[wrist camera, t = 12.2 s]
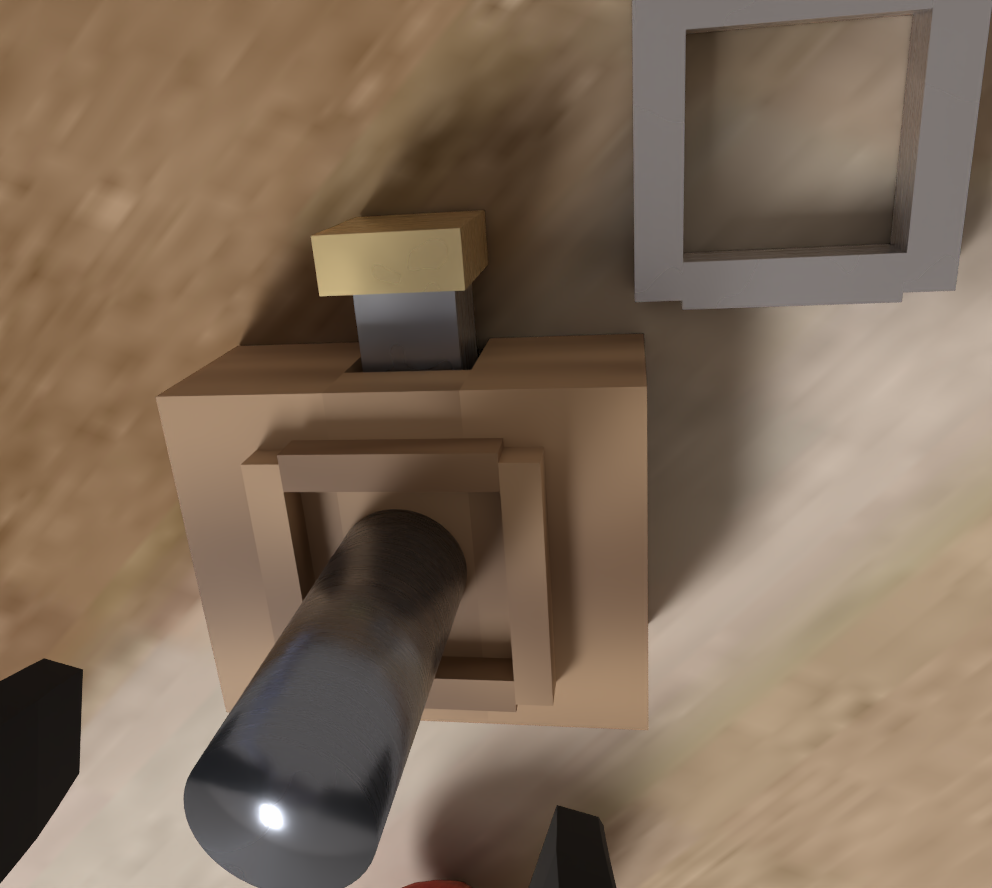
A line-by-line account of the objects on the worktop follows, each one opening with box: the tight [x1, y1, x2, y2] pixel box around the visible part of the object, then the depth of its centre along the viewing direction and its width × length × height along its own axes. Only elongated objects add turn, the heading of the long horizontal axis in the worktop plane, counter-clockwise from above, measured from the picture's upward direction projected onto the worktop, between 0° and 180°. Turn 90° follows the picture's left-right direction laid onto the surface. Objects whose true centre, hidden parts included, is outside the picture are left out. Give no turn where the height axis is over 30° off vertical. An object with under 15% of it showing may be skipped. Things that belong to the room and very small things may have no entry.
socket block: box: [156, 334, 648, 730], centre depth 20 cm, size 8×10×5 cm
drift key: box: [311, 210, 488, 372], centre depth 20 cm, size 9×3×3 cm, turn 4°
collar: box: [632, 0, 992, 310], centre depth 17 cm, size 6×6×1 cm
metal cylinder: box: [184, 509, 467, 888], centre depth 15 cm, size 3×3×7 cm
